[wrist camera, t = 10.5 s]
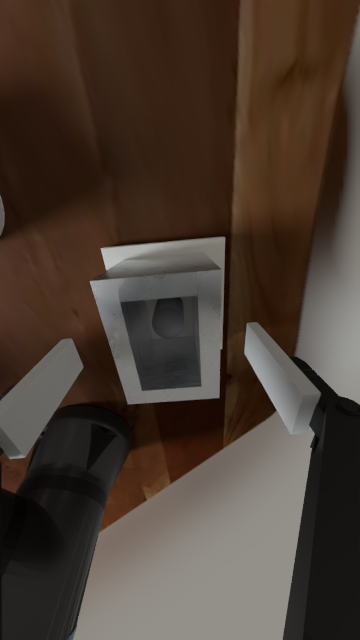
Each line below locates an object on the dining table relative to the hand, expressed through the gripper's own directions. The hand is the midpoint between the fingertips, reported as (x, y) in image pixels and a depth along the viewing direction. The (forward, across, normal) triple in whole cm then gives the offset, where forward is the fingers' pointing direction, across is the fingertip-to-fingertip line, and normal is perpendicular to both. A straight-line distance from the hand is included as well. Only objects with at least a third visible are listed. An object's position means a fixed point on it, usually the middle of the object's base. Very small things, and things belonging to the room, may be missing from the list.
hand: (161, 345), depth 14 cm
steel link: (+7, 0, 0) cm, 7 cm away
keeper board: (+9, -1, 0) cm, 9 cm away
